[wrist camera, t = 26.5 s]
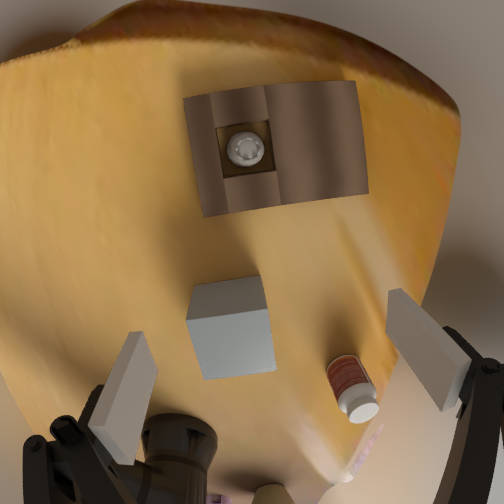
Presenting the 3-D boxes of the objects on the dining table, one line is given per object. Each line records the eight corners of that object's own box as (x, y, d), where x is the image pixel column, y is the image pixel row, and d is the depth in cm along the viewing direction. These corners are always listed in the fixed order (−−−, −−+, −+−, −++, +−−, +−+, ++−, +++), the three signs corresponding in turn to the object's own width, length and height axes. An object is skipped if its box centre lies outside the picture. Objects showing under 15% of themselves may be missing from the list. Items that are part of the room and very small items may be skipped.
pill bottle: (318, 374, 48) (335, 422, 37) (341, 348, 46) (364, 395, 36) (344, 384, 49) (363, 429, 39) (366, 359, 48) (391, 403, 37)
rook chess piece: (270, 156, 36) (279, 158, 28) (238, 173, 37) (239, 180, 29) (251, 124, 35) (256, 118, 27) (219, 142, 35) (215, 141, 28)
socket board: (205, 212, 38) (203, 217, 35) (187, 102, 33) (183, 98, 30) (359, 190, 38) (368, 193, 35) (346, 84, 33) (355, 80, 30)
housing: (208, 339, 44) (204, 379, 36) (194, 285, 41) (185, 320, 33) (269, 330, 44) (276, 370, 36) (260, 275, 41) (267, 308, 33)
